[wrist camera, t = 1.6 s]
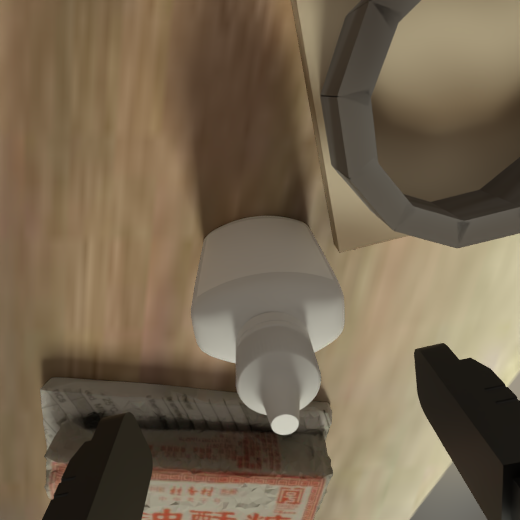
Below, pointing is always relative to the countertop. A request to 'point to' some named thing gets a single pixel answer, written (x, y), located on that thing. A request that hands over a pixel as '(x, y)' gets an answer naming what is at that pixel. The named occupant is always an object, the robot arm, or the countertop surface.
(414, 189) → the collar board
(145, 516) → the packaged product
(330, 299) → the eye dropper bottle
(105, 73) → the countertop surface
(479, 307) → the countertop surface
